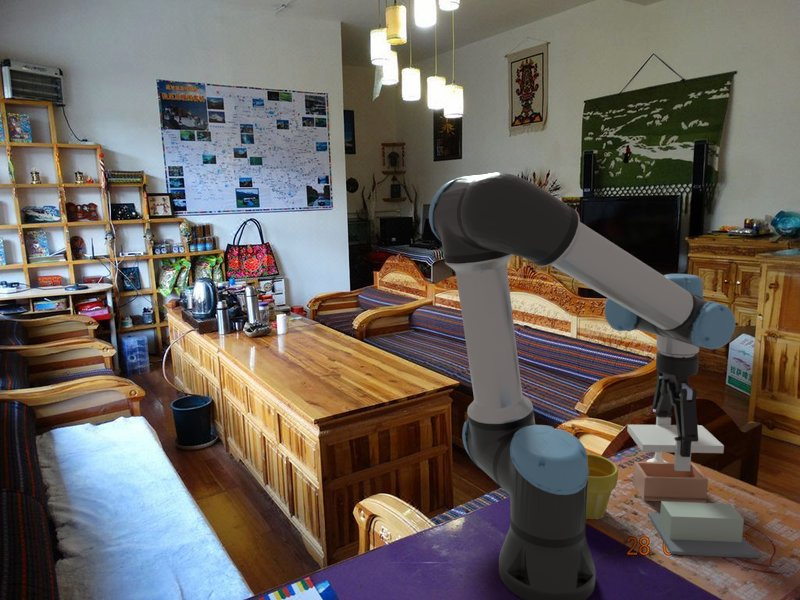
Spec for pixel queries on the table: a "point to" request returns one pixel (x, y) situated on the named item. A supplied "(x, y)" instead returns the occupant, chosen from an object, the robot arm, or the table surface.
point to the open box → (669, 483)
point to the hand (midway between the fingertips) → (671, 457)
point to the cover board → (671, 439)
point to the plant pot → (599, 485)
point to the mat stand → (702, 529)
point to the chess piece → (657, 458)
